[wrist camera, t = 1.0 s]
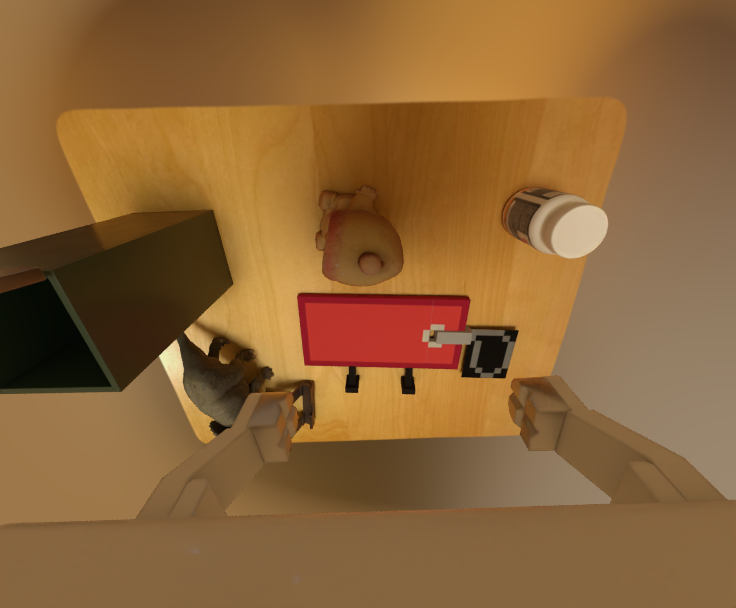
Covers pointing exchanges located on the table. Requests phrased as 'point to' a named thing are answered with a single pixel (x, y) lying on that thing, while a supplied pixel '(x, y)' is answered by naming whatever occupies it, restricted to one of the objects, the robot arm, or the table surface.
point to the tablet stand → (305, 403)
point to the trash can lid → (19, 277)
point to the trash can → (107, 300)
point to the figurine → (357, 240)
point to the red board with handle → (399, 336)
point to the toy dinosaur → (217, 381)
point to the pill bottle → (555, 222)
